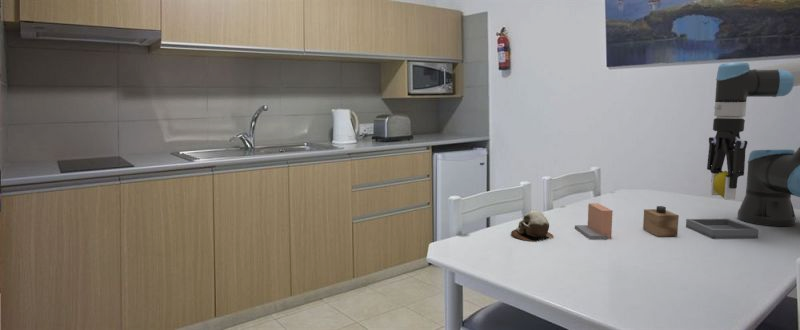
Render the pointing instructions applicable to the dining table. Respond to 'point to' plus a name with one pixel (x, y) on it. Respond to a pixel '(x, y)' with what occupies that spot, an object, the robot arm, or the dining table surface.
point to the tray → (721, 228)
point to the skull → (533, 227)
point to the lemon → (720, 183)
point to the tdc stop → (597, 222)
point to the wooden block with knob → (660, 222)
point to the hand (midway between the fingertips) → (722, 196)
